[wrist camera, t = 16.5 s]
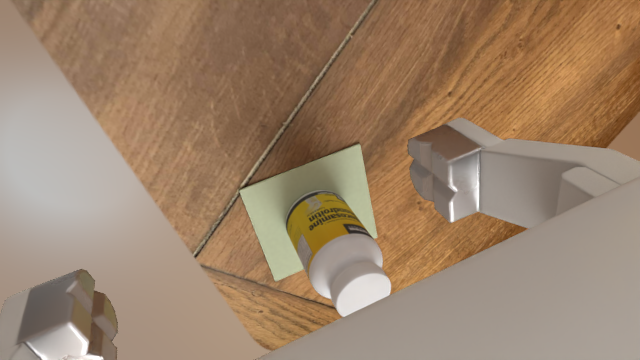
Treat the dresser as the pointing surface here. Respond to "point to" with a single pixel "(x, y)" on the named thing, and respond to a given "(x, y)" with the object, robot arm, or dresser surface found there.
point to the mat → (284, 189)
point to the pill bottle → (337, 251)
